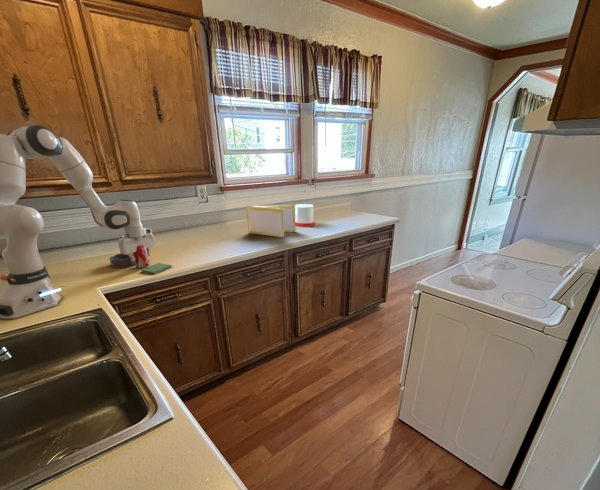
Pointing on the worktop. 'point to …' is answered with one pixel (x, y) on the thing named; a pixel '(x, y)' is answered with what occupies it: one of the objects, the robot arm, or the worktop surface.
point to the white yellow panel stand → (271, 219)
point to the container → (304, 215)
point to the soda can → (141, 257)
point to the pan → (121, 261)
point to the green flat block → (156, 268)
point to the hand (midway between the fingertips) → (141, 258)
